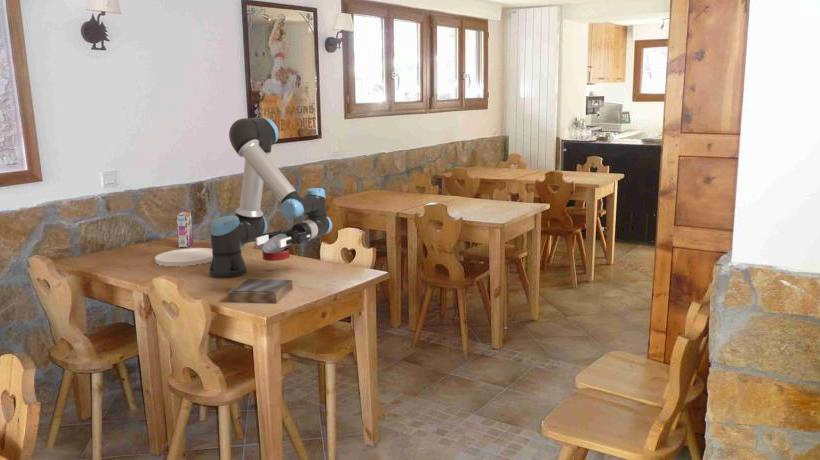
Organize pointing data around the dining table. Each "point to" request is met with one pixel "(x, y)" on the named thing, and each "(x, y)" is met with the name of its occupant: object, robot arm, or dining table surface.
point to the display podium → (260, 291)
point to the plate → (184, 257)
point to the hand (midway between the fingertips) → (268, 242)
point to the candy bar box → (184, 229)
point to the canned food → (275, 249)
